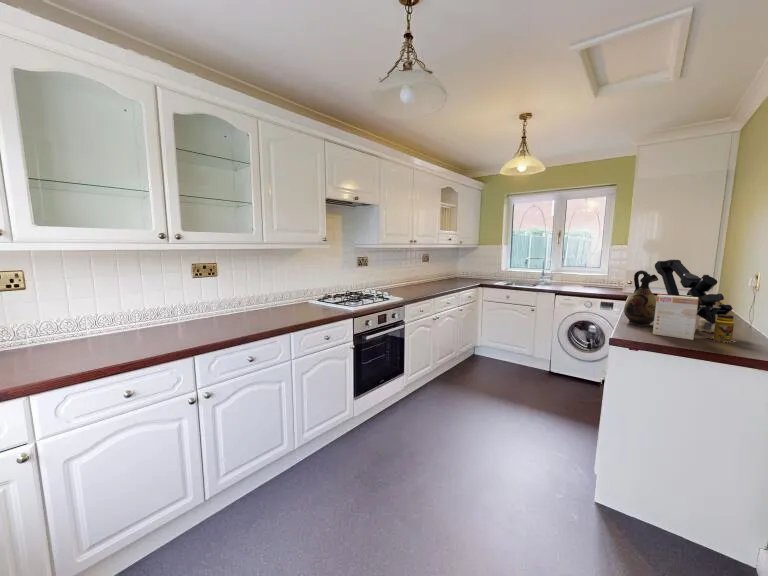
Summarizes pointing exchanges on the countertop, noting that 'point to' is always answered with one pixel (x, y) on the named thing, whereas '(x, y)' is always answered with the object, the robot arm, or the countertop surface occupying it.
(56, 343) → the countertop surface
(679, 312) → the coffeecake box
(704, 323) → the beech block
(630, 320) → the ceramic jug
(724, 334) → the condiment
